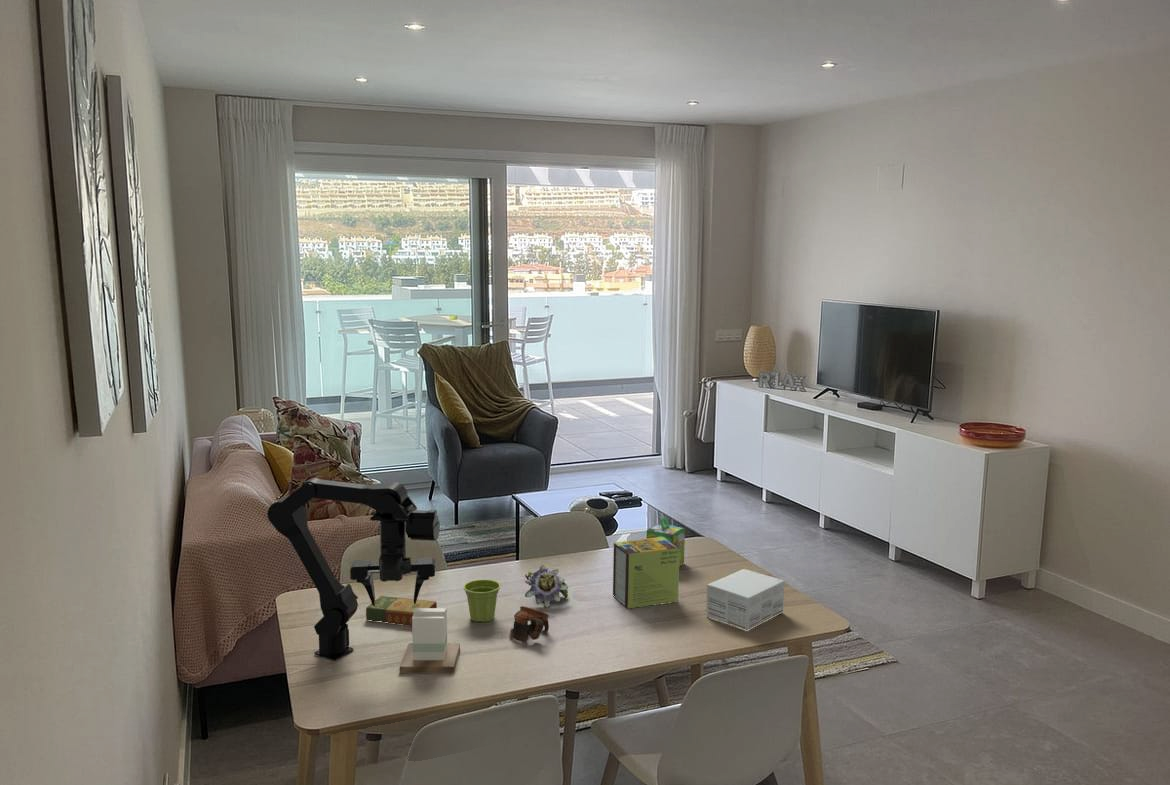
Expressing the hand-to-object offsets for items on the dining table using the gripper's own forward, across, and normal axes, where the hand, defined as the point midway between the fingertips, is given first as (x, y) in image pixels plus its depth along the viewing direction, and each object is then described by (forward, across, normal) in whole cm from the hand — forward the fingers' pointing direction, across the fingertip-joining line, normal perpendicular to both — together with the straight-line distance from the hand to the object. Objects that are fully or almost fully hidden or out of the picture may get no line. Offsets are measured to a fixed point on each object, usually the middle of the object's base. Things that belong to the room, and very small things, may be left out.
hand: (394, 604), depth 199 cm
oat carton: (+11, +8, -4) cm, 14 cm away
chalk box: (+13, +76, +54) cm, 95 cm away
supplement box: (+13, +88, +14) cm, 91 cm away
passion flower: (+13, +38, +30) cm, 50 cm away
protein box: (+13, +65, +28) cm, 72 cm away
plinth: (+13, +8, -4) cm, 15 cm away
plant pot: (+13, +20, +20) cm, 31 cm away
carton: (+13, 0, +22) cm, 26 cm away
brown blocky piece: (+13, +32, +7) cm, 35 cm away
